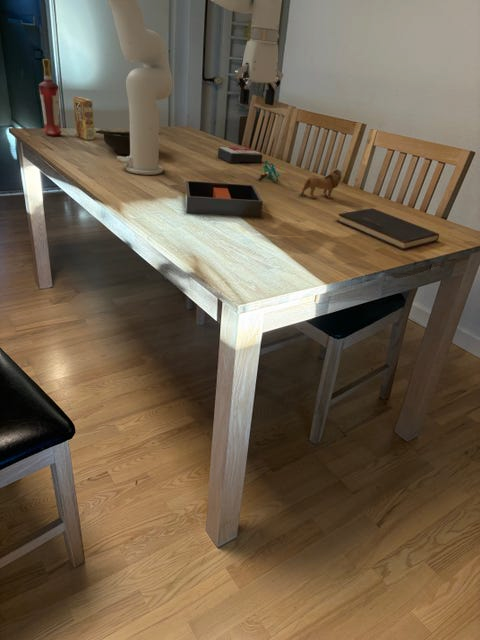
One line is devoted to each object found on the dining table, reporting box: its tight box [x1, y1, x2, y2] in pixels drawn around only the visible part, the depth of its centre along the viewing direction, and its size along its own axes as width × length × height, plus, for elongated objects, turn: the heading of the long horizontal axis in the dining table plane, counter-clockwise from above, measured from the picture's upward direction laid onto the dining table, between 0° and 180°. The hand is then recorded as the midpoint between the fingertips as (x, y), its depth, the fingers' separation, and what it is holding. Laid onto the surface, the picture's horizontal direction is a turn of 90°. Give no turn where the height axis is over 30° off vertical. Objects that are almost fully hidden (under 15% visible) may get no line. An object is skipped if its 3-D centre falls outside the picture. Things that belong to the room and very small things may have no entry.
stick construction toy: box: [258, 160, 281, 183], centre depth 170 cm, size 12×7×8 cm
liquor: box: [38, 58, 62, 137], centre depth 192 cm, size 7×7×28 cm
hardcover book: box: [336, 207, 440, 251], centre depth 133 cm, size 16×23×2 cm
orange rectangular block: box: [213, 188, 231, 199], centre depth 136 cm, size 4×12×4 cm, turn 7°
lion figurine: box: [299, 168, 343, 200], centre depth 155 cm, size 15×5×9 cm, turn 116°
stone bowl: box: [94, 129, 162, 156], centre depth 186 cm, size 25×25×9 cm
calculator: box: [217, 146, 263, 164], centre depth 193 cm, size 11×4×15 cm
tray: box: [184, 180, 264, 219], centre depth 136 cm, size 21×17×5 cm
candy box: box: [72, 96, 96, 141], centre depth 197 cm, size 9×4×15 cm, turn 44°
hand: (256, 104), depth 139 cm, fingers open, 9 cm apart
